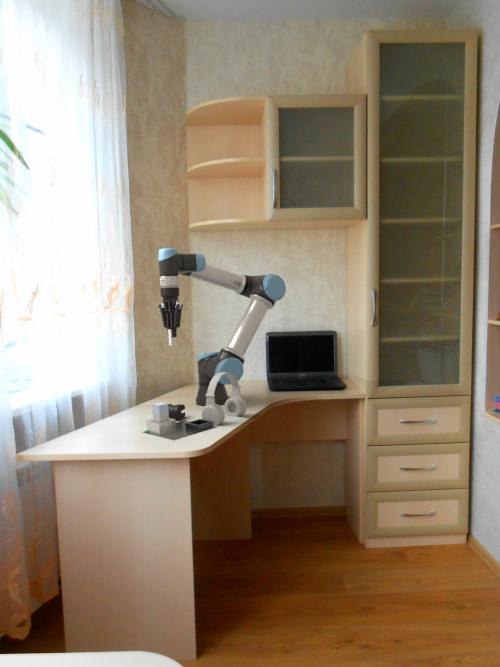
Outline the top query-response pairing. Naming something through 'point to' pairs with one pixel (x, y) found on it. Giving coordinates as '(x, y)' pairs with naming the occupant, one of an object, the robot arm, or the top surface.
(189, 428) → the panel
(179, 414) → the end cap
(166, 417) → the plug
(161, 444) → the top surface
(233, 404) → the headphones
